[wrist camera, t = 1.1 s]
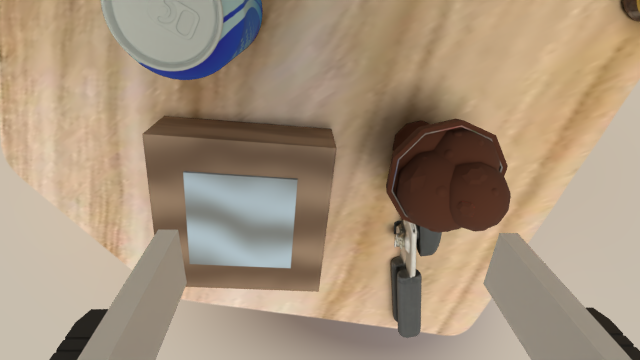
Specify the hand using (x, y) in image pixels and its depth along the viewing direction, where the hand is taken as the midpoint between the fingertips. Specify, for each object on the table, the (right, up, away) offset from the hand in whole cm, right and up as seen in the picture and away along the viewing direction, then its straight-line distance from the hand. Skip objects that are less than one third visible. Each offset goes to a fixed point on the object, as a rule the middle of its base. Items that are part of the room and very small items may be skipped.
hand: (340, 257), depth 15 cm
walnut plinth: (-9, +1, +28) cm, 30 cm away
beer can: (-10, +20, +20) cm, 30 cm away
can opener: (+11, -8, +34) cm, 37 cm away
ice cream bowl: (+10, +7, +27) cm, 30 cm away
